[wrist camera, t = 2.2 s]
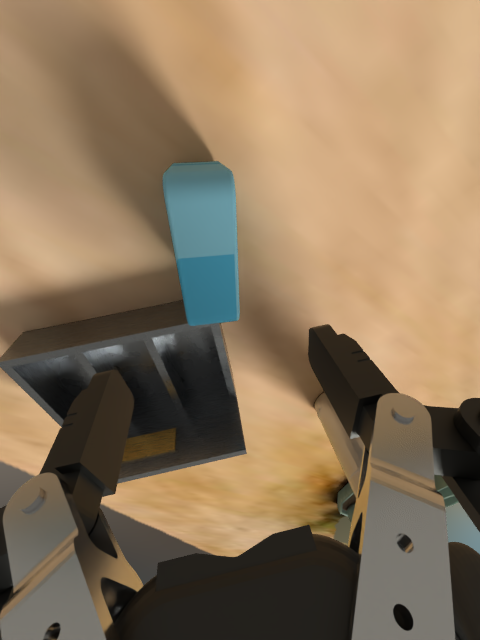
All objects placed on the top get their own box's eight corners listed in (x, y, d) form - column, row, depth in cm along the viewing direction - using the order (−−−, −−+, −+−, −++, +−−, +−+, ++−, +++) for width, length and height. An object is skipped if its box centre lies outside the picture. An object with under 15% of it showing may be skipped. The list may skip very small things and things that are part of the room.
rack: (214, 294, 33) (224, 367, 22) (232, 374, 43) (246, 453, 32) (23, 332, 32) (-64, 429, 21) (85, 406, 42) (47, 499, 31)
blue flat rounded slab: (172, 162, 24) (159, 174, 15) (218, 160, 25) (235, 171, 15) (189, 275, 31) (189, 334, 22) (225, 271, 32) (240, 328, 22)
